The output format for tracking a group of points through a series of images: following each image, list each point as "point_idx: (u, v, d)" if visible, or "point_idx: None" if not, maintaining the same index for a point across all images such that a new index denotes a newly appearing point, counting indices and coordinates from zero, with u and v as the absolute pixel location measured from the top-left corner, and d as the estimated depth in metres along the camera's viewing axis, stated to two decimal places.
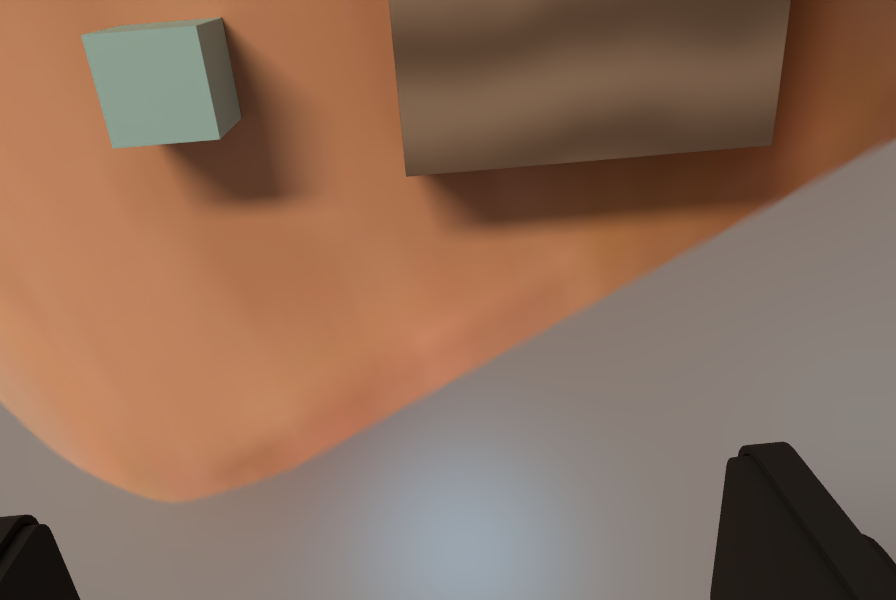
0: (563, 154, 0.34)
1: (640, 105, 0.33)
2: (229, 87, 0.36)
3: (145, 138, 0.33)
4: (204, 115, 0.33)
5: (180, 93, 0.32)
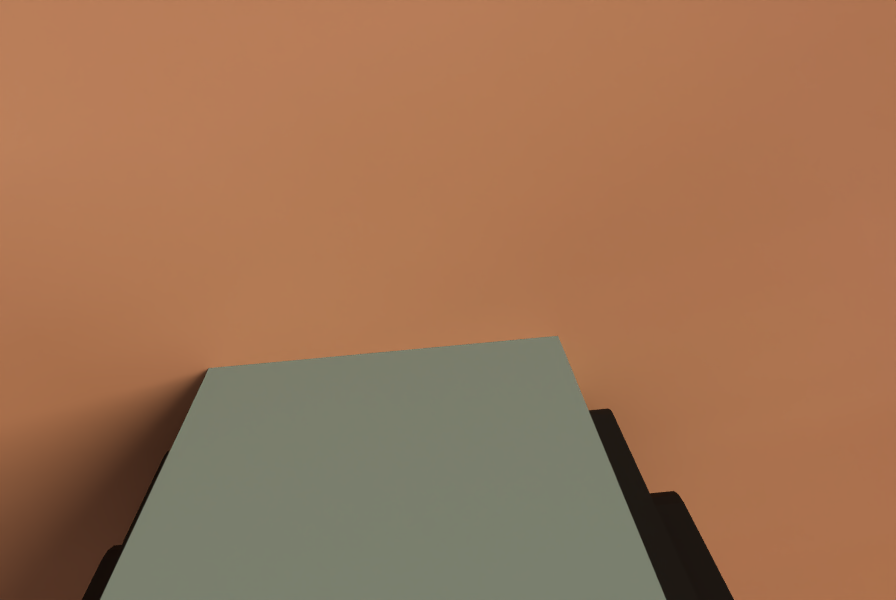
0: None
1: None
2: None
3: None
4: None
5: None
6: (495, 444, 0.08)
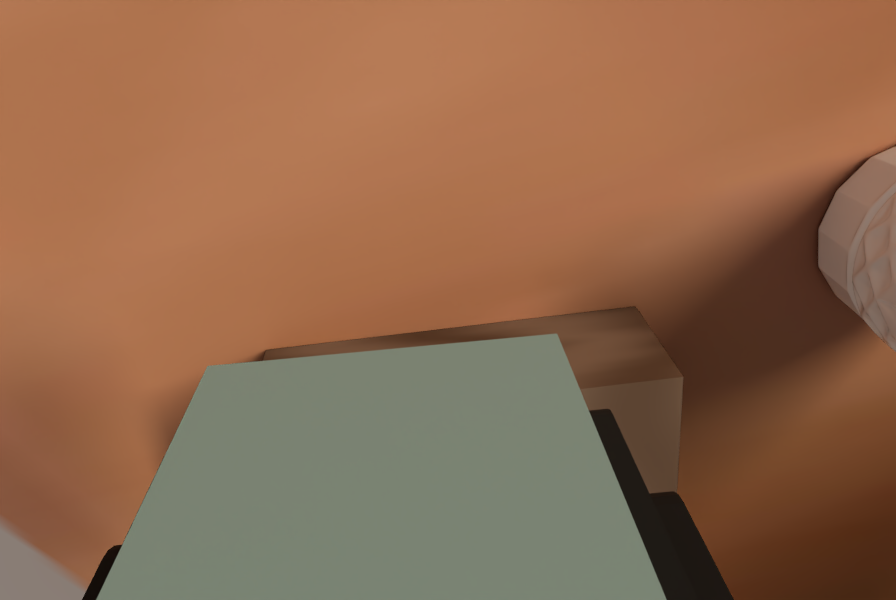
0: None
1: None
2: None
3: None
4: None
5: None
6: (494, 441, 0.08)
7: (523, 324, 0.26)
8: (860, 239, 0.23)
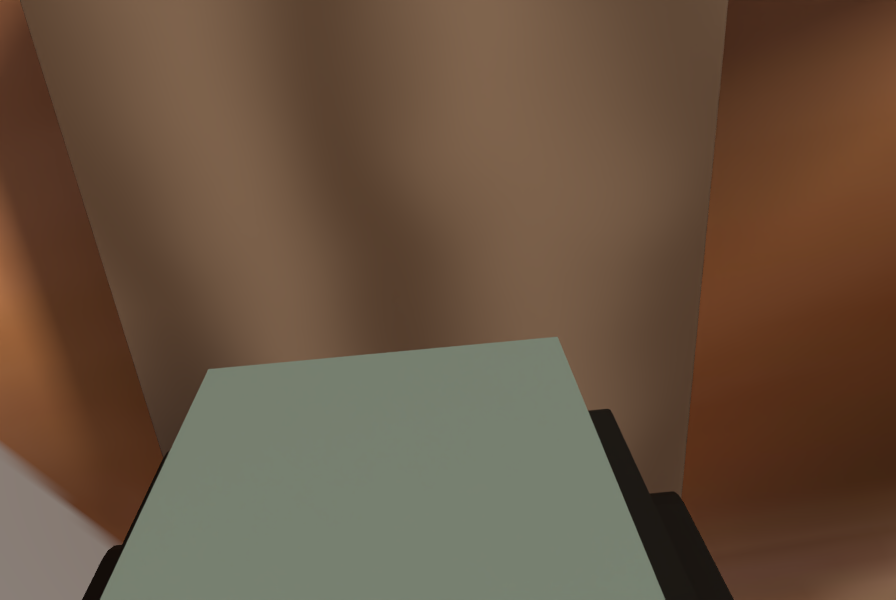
0: (125, 276, 0.16)
1: None
2: None
3: None
4: None
5: None
6: (495, 445, 0.08)
7: None
8: None
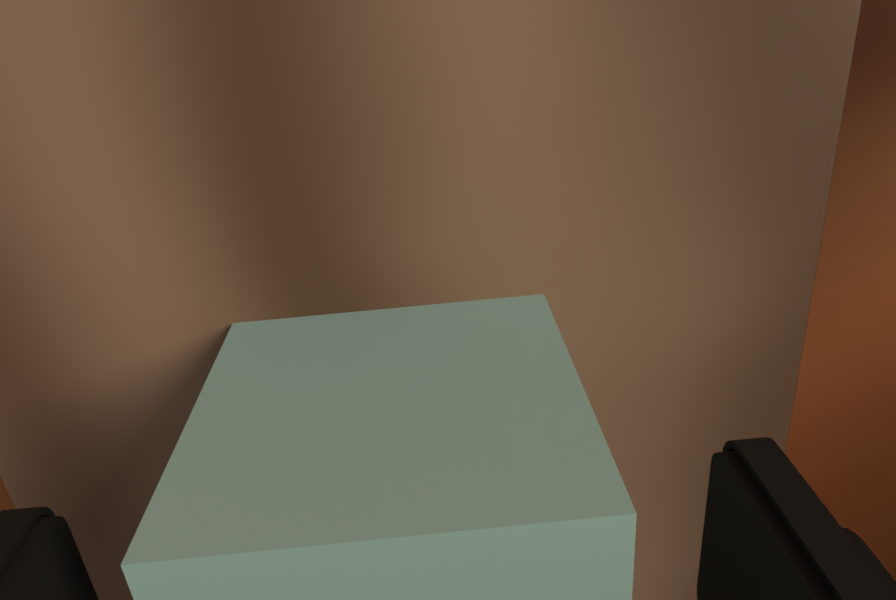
0: None
1: None
2: None
3: None
4: None
5: None
6: (486, 378, 0.09)
7: None
8: None
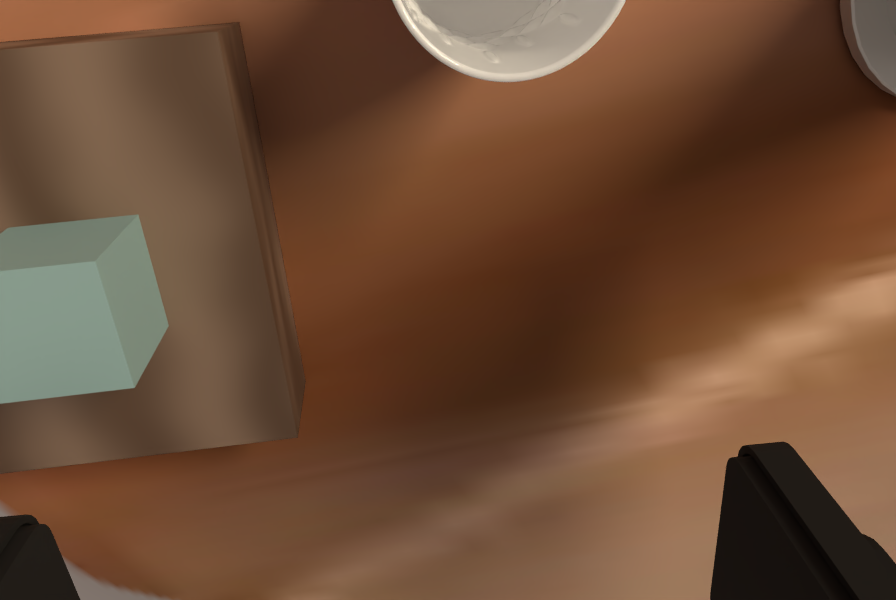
0: None
1: None
2: None
3: None
4: (21, 389, 0.25)
5: (43, 365, 0.25)
6: (87, 237, 0.26)
7: (132, 31, 0.30)
8: None
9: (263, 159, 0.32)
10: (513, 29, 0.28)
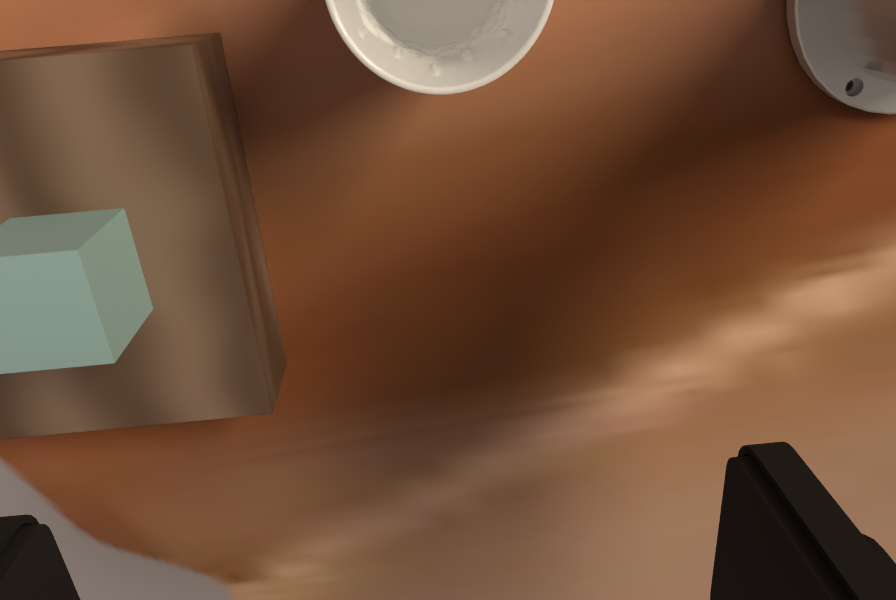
0: None
1: None
2: None
3: None
4: (15, 362, 0.29)
5: (35, 341, 0.28)
6: (75, 228, 0.29)
7: (123, 41, 0.33)
8: None
9: (243, 158, 0.35)
10: (464, 42, 0.30)
